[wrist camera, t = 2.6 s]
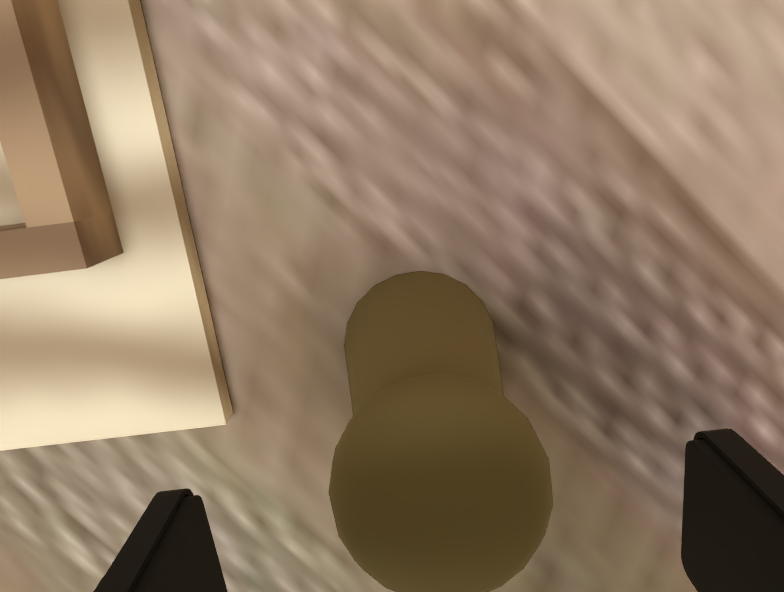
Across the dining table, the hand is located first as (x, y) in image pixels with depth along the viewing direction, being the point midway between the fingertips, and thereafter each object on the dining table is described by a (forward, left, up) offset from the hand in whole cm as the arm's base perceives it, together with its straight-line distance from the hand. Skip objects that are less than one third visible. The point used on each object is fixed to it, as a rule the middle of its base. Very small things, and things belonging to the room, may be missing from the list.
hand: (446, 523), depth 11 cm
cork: (-1, 0, -12) cm, 12 cm away
